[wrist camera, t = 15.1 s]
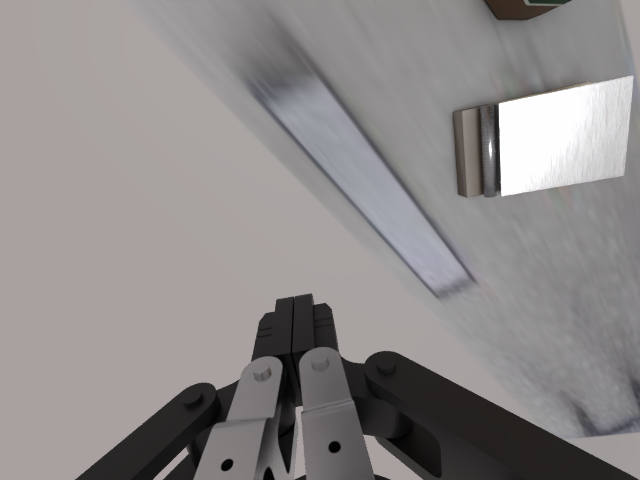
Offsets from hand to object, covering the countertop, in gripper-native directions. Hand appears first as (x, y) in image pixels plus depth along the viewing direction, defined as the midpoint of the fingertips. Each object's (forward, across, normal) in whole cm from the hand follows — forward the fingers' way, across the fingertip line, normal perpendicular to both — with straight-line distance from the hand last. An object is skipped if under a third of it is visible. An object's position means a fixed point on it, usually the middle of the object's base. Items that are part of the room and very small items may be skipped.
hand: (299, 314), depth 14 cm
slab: (+22, +20, +1) cm, 29 cm away
